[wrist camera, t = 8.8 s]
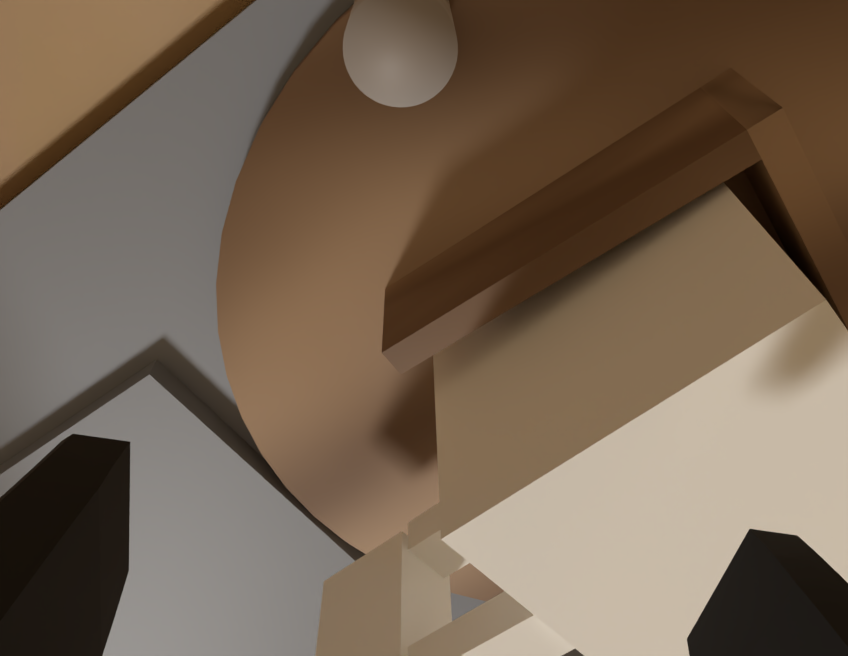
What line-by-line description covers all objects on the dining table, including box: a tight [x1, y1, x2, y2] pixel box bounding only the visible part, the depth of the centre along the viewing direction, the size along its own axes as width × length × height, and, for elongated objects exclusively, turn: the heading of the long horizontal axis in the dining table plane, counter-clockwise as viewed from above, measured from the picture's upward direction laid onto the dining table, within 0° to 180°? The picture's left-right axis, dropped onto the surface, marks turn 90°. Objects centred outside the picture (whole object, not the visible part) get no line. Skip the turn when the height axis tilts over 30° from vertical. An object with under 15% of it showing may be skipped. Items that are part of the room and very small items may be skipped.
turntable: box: [216, 0, 848, 601], centre depth 16 cm, size 18×18×4 cm
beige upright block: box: [315, 182, 848, 656], centre depth 16 cm, size 12×6×6 cm, turn 131°
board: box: [0, 0, 584, 656], centre depth 20 cm, size 30×20×1 cm, turn 125°
